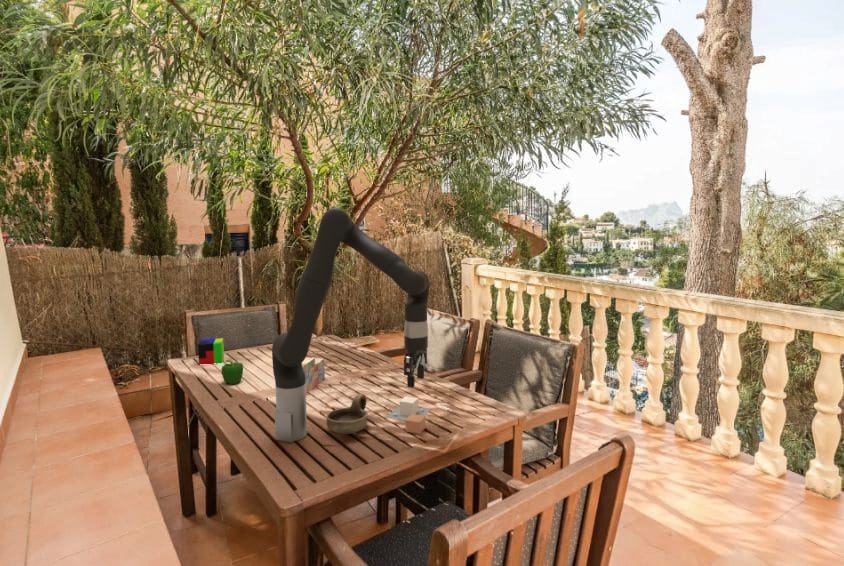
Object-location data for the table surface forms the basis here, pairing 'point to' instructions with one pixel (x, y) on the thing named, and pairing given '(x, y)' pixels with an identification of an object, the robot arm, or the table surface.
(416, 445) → the table surface
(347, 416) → the bowl
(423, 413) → the plate
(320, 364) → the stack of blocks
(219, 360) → the puzzle toy
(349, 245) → the robot arm
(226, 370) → the bell pepper
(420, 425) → the rust cube
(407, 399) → the base cube
